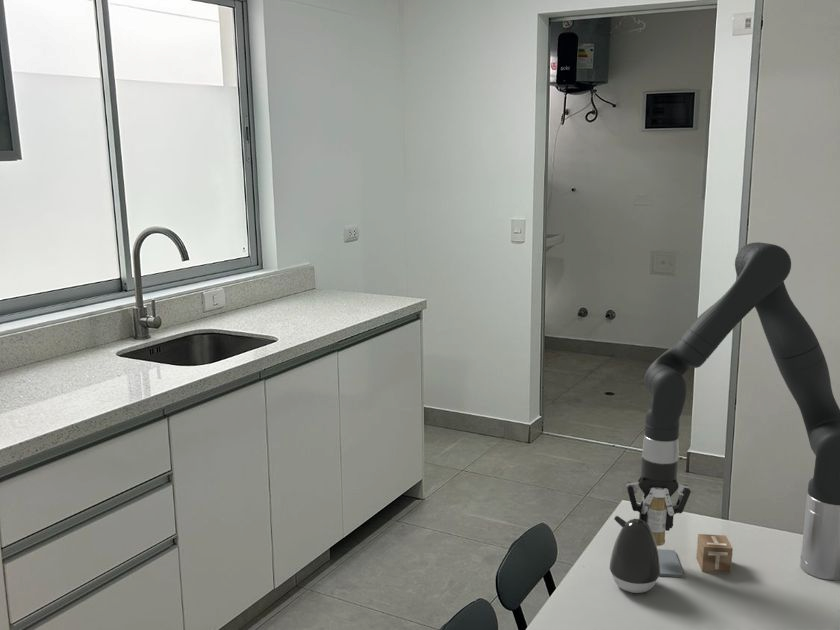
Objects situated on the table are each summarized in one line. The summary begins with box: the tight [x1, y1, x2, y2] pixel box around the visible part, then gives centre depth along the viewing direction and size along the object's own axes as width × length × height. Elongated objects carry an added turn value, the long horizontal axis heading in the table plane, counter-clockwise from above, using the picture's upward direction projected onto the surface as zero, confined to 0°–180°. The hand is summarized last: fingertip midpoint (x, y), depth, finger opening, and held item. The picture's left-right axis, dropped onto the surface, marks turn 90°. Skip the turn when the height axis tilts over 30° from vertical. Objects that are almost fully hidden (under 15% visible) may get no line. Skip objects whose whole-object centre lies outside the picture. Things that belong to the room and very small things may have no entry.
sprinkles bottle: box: [646, 488, 667, 547], centre depth 180 cm, size 5×5×13 cm
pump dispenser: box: [609, 515, 660, 594], centre depth 172 cm, size 10×10×15 cm
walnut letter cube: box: [695, 533, 734, 574], centre depth 181 cm, size 6×6×6 cm
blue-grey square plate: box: [657, 548, 684, 578], centre depth 182 cm, size 11×11×1 cm
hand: (655, 528), depth 181 cm, fingers closed on sprinkles bottle, 4 cm apart
